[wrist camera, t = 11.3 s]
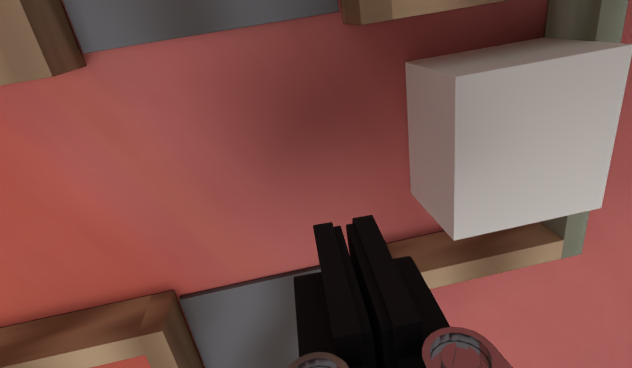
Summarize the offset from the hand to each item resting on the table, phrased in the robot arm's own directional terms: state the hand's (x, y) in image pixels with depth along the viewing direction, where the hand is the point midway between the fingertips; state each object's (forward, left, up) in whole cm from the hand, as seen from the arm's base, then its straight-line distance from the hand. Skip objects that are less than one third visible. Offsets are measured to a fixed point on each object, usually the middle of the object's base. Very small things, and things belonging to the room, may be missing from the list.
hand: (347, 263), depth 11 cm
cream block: (-9, 0, -9) cm, 13 cm away
